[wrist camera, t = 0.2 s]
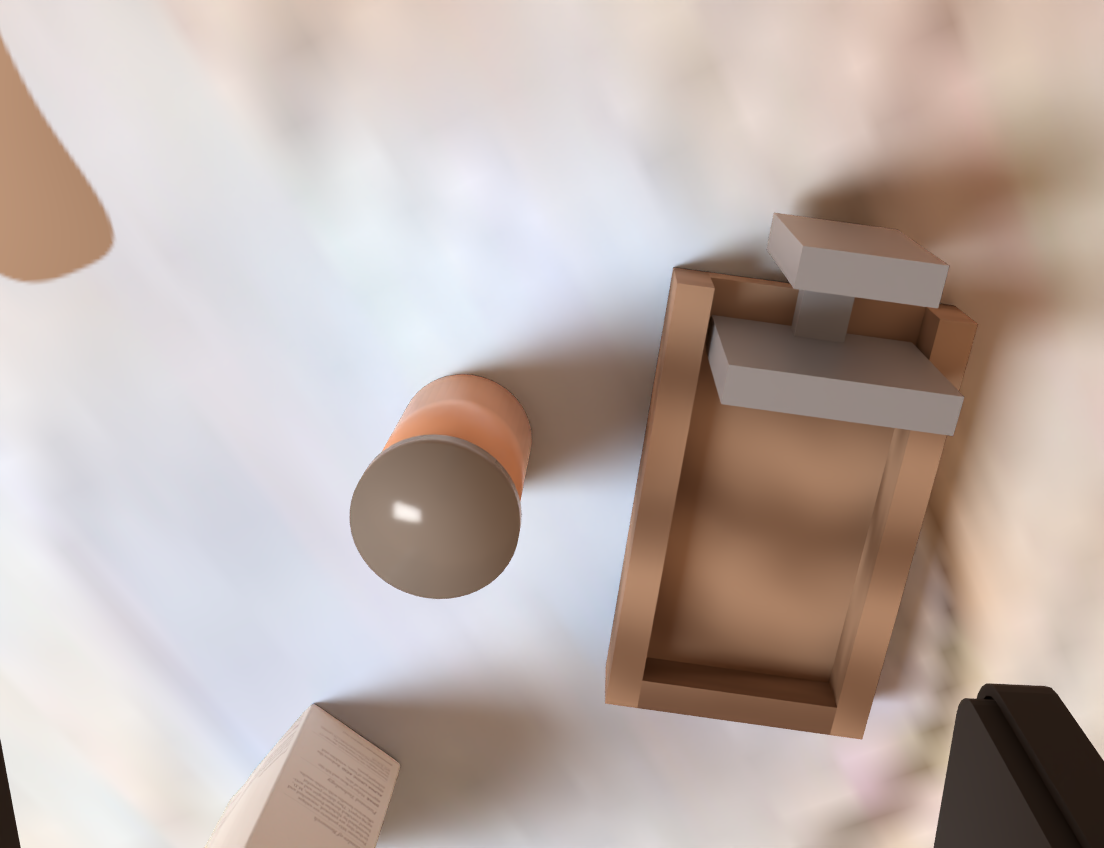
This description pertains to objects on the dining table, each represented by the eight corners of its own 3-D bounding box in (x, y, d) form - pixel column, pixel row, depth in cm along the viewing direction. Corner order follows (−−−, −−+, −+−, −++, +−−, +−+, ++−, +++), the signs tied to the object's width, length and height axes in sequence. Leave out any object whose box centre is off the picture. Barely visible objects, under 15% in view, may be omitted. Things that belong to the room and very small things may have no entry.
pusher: (731, 206, 42) (753, 238, 36) (939, 235, 42) (999, 272, 36) (705, 349, 44) (721, 403, 38) (903, 376, 44) (953, 435, 38)
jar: (401, 360, 47) (354, 433, 38) (544, 380, 47) (528, 457, 38) (391, 491, 49) (345, 586, 41) (527, 510, 49) (509, 609, 41)
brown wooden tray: (673, 267, 45) (677, 283, 42) (954, 305, 44) (977, 324, 42) (605, 667, 52) (605, 703, 49) (848, 701, 52) (862, 739, 49)
